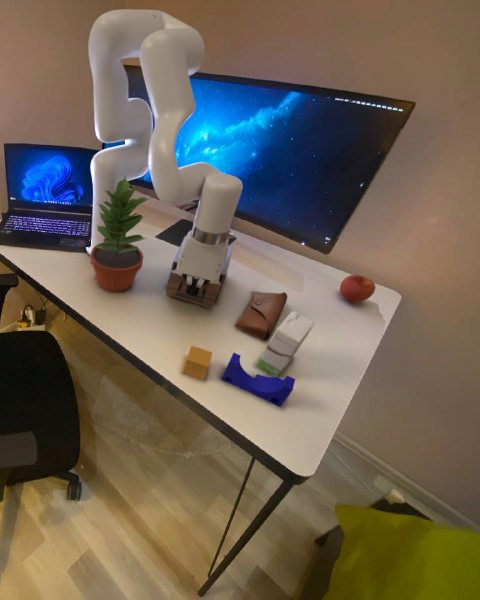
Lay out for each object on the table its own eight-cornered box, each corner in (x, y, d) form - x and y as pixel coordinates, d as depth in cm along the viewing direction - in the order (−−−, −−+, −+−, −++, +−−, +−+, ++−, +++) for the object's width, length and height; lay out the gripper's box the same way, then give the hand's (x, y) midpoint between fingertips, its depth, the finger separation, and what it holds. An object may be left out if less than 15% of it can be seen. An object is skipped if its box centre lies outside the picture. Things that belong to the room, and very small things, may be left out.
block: (186, 358, 79) (191, 345, 76) (206, 365, 78) (212, 352, 75) (182, 372, 76) (187, 359, 73) (203, 380, 75) (208, 367, 72)
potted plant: (109, 259, 109) (118, 162, 89) (149, 280, 101) (168, 179, 81) (76, 279, 101) (77, 178, 81) (116, 304, 93) (128, 198, 73)
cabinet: (215, 303, 94) (226, 275, 87) (166, 289, 98) (173, 261, 92) (223, 274, 104) (233, 247, 97) (178, 262, 108) (185, 235, 102)
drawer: (209, 320, 87) (217, 297, 82) (161, 305, 91) (166, 282, 86) (219, 280, 100) (227, 257, 95) (177, 268, 104) (182, 246, 99)
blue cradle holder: (284, 391, 73) (296, 374, 69) (280, 407, 70) (292, 389, 66) (227, 365, 78) (235, 347, 74) (221, 379, 75) (229, 361, 71)
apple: (368, 300, 96) (385, 277, 90) (359, 312, 92) (376, 288, 87) (339, 287, 100) (354, 264, 95) (329, 298, 96) (344, 275, 91)
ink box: (277, 378, 75) (300, 342, 68) (255, 365, 78) (275, 329, 70) (292, 357, 80) (316, 321, 72) (271, 346, 82) (292, 309, 75)
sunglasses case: (253, 289, 97) (273, 278, 92) (270, 307, 97) (292, 297, 92) (233, 326, 86) (255, 315, 81) (252, 347, 86) (276, 337, 81)
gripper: (246, 232, 77) (222, 295, 89) (179, 218, 82) (165, 279, 94) (243, 248, 72) (218, 313, 84) (172, 232, 77) (158, 296, 89)
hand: (190, 295), depth 89 cm, fingers closed
